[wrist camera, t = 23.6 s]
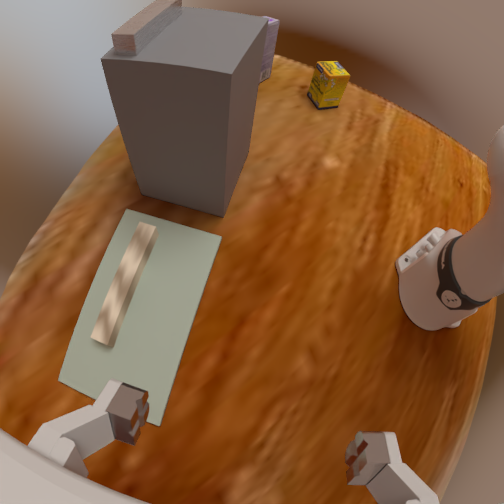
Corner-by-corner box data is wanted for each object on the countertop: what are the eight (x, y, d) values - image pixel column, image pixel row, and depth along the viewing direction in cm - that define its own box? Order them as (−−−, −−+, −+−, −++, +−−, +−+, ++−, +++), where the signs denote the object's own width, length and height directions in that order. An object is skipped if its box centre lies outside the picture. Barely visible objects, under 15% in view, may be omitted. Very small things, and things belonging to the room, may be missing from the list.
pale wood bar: (136, 55, 29) (133, 34, 26) (115, 54, 29) (111, 34, 26) (181, 14, 33) (181, -3, 31) (162, 13, 33) (161, -4, 31)
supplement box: (306, 95, 71) (316, 61, 61) (326, 93, 73) (337, 60, 63) (317, 110, 69) (329, 75, 59) (338, 108, 71) (351, 74, 61)
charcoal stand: (223, 217, 55) (231, 74, 28) (141, 194, 56) (100, 58, 28) (248, 151, 62) (268, 18, 34) (175, 134, 62) (163, 5, 35)
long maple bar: (107, 345, 41) (90, 337, 41) (113, 347, 44) (97, 340, 44) (155, 226, 49) (139, 221, 49) (159, 234, 52) (143, 229, 52)
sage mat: (160, 425, 41) (159, 426, 40) (60, 380, 41) (58, 380, 40) (221, 239, 54) (221, 236, 53) (127, 211, 54) (126, 208, 53)
